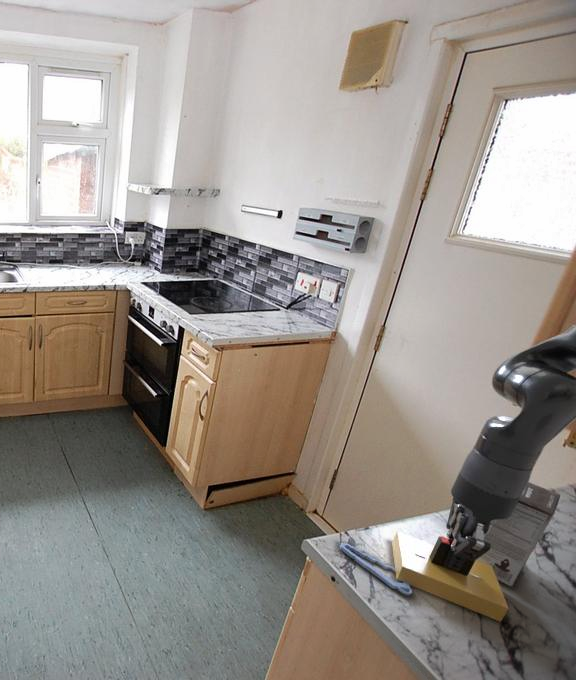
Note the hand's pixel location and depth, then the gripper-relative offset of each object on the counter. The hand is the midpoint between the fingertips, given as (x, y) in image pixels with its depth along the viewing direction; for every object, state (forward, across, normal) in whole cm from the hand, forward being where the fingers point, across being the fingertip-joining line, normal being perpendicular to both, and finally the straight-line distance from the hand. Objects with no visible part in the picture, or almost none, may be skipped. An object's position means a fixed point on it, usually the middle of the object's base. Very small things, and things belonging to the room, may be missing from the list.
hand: (449, 563), depth 78 cm
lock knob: (+1, 0, 0) cm, 1 cm away
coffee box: (+4, +10, -9) cm, 15 cm away
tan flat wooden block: (+4, 0, 0) cm, 4 cm away
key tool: (+4, -4, +10) cm, 12 cm away
